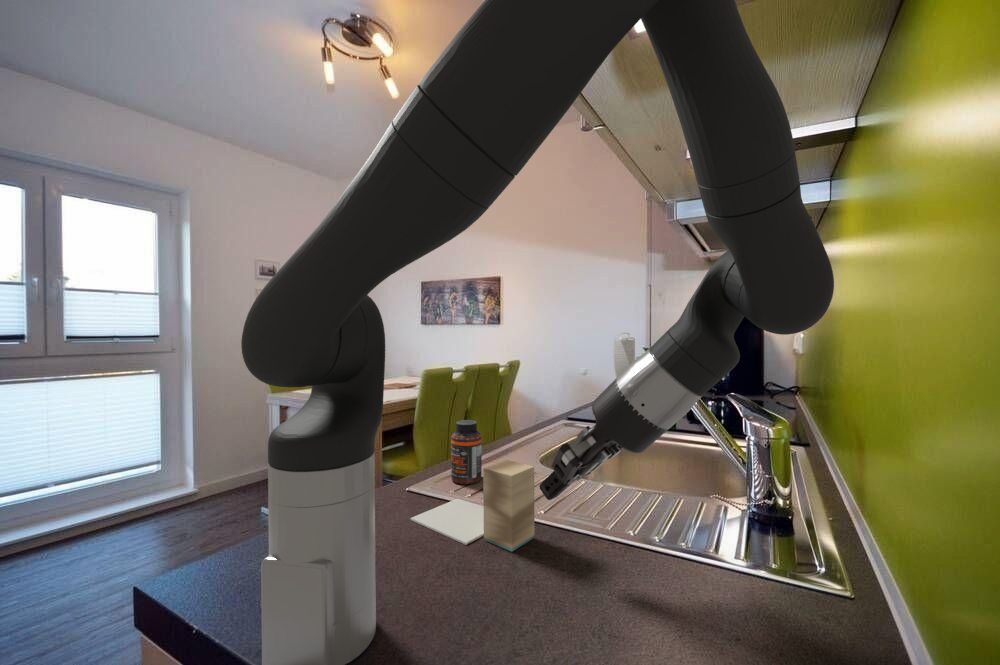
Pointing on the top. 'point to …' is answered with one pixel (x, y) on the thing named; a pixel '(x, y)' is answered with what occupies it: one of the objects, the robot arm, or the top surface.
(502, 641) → the top surface
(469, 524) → the grey mat
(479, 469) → the supplement bottle
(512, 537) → the beech block
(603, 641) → the top surface
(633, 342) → the skyscraper
